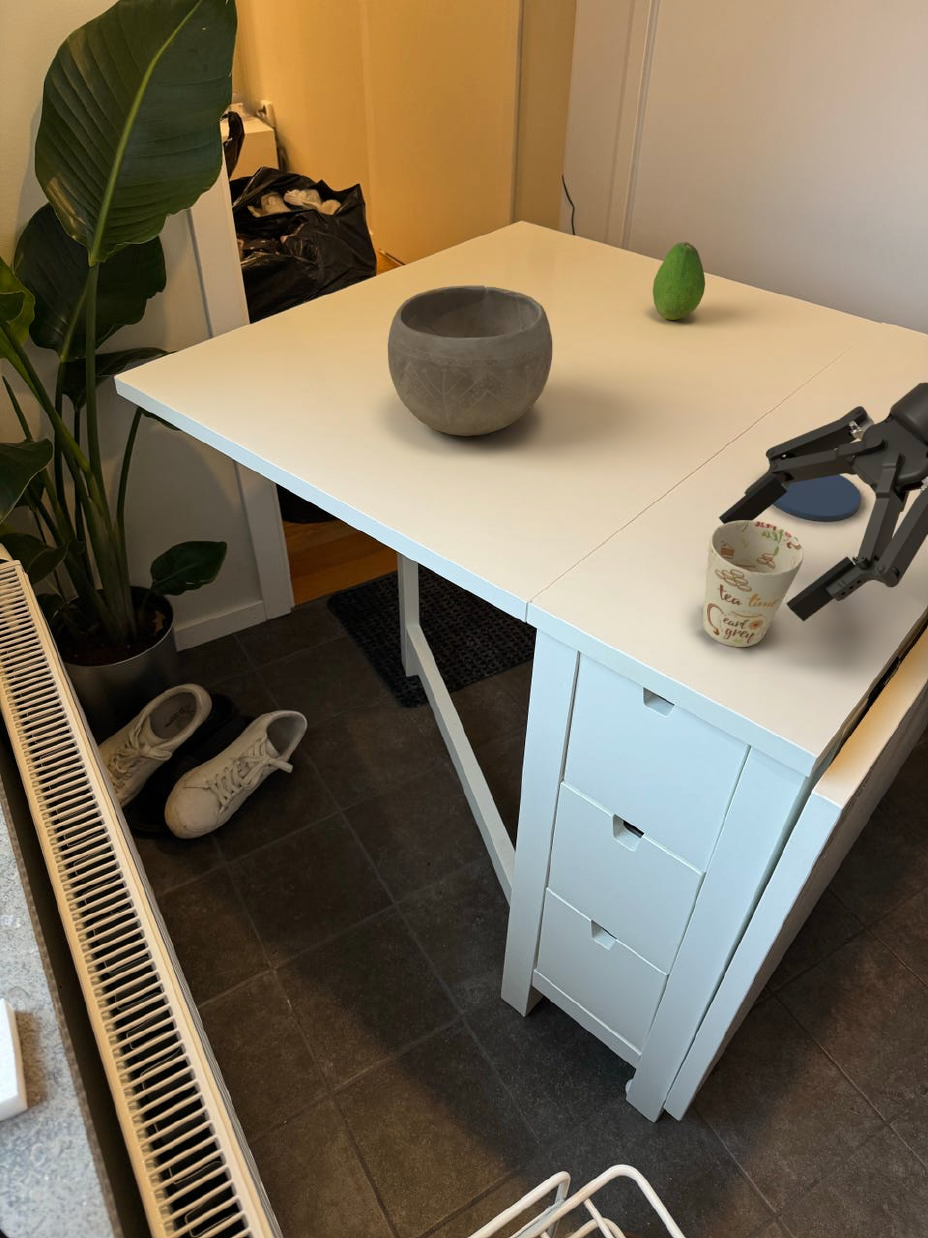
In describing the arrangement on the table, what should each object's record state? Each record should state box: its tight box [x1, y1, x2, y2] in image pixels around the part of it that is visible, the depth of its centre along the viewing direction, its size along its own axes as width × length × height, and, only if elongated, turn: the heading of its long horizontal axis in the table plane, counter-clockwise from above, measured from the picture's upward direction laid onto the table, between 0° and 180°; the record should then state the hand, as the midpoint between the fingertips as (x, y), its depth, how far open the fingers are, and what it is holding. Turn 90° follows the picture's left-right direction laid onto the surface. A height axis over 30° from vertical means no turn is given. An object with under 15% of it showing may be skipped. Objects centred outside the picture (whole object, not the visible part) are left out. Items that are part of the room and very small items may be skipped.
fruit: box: [652, 241, 706, 321], centre depth 141 cm, size 8×8×12 cm
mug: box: [702, 520, 804, 648], centre depth 86 cm, size 8×13×10 cm, turn 133°
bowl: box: [387, 285, 553, 437], centre depth 114 cm, size 21×21×15 cm
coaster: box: [772, 474, 862, 522], centre depth 106 cm, size 11×11×1 cm
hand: (758, 567), depth 85 cm, fingers open, 13 cm apart
